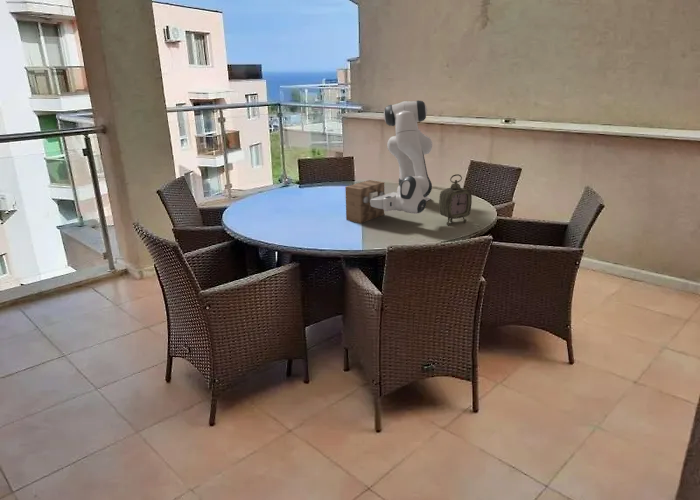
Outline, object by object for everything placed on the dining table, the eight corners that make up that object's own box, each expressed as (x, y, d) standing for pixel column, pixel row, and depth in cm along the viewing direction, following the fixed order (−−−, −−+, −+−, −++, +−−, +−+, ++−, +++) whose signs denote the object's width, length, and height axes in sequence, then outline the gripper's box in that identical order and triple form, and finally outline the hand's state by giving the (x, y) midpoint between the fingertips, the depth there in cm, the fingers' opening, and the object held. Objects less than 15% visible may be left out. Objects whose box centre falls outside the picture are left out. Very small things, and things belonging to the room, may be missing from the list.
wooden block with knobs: (370, 211, 271) (369, 179, 265) (386, 215, 264) (386, 182, 257) (346, 219, 257) (345, 186, 251) (362, 223, 250) (362, 189, 243)
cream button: (370, 199, 258) (370, 190, 256) (377, 200, 255) (377, 191, 254) (364, 201, 255) (364, 192, 253) (371, 202, 252) (371, 193, 250)
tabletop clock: (446, 227, 242) (449, 177, 233) (436, 222, 249) (438, 174, 241) (470, 222, 247) (473, 174, 239) (459, 218, 255) (462, 171, 246)
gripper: (408, 191, 250) (386, 187, 259) (383, 199, 236) (362, 195, 245) (407, 203, 252) (386, 199, 261) (383, 211, 238) (362, 207, 247)
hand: (374, 197), depth 253 cm, fingers closed, pressing on cream button
